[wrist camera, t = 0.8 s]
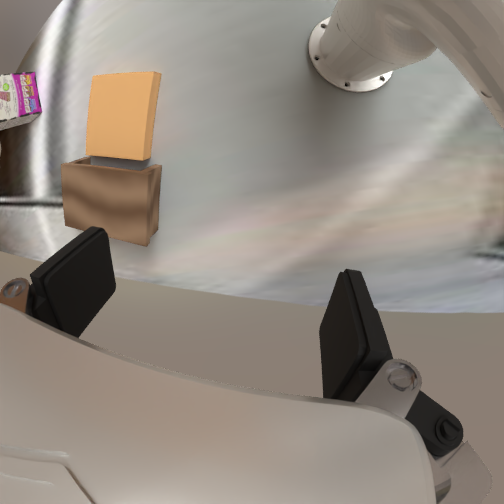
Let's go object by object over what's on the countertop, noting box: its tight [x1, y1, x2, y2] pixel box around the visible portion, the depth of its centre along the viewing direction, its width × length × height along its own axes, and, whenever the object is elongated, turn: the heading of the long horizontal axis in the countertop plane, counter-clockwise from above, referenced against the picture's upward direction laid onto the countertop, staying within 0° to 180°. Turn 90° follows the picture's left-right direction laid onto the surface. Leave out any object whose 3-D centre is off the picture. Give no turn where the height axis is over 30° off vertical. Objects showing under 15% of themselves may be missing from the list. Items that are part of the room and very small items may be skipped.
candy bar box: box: [0, 72, 42, 130], centre depth 27 cm, size 11×5×16 cm, turn 15°
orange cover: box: [86, 72, 161, 161], centre depth 35 cm, size 14×12×3 cm
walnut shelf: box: [61, 157, 162, 247], centre depth 40 cm, size 12×18×6 cm, turn 79°
